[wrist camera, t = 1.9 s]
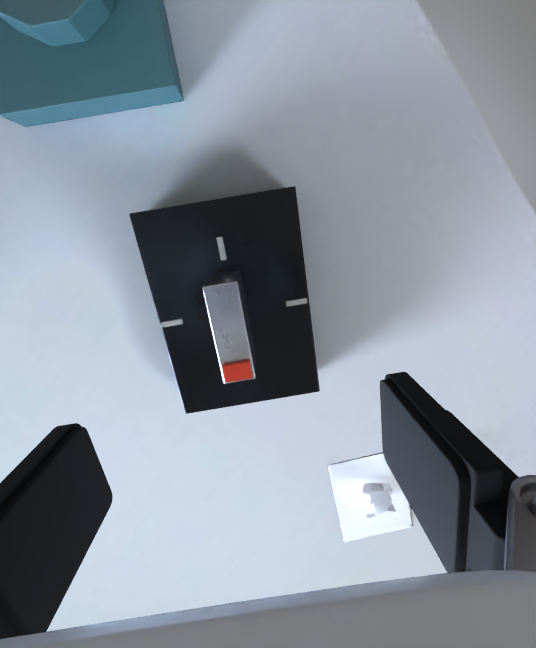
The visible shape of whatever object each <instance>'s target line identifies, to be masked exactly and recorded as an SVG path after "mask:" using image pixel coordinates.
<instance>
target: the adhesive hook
mask: <svg viewBox="0 0 536 648" xmlns="http://www.w3.org/2000/svg"><path fill="white" fill-rule="evenodd" d="M393 495H394V491H393V488H392V486H391V485H390V483H389V482H364V483H363V485H362V489H361V498H362V499H364V500H366V501H368V502H369V504H370V507H371V512H372V513H367V514H366V515H365V517H366V518H367V519H371V518H376V517H380V516H384V515H389V514H393V513H396V512H397V510H396V508H395V506H394V504H393V499H392V497H391V496H393Z"/></svg>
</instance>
